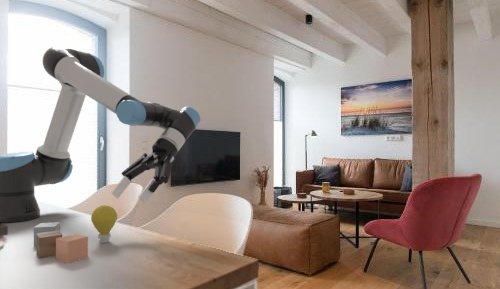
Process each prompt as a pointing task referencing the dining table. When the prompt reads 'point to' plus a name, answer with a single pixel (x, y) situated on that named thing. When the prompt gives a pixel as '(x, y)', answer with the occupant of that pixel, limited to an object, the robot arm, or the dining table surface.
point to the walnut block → (47, 243)
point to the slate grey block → (45, 228)
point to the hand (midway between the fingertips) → (127, 197)
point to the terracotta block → (71, 248)
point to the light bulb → (104, 221)
